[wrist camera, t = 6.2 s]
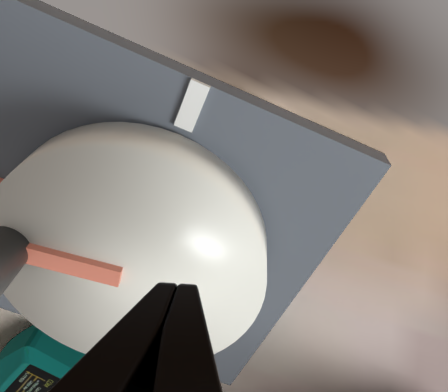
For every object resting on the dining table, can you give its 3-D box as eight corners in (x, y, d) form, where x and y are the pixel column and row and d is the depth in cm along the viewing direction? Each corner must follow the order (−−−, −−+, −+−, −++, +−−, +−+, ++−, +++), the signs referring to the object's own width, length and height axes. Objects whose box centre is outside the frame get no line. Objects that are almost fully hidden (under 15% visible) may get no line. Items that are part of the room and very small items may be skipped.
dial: (8, 84, 14) (-173, 183, 8) (306, 169, 15) (332, 315, 9) (11, 299, 20) (-96, 447, 14) (227, 353, 21) (212, 516, 15)
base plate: (384, 153, 16) (392, 168, 15) (231, 369, 24) (230, 388, 23) (-15, -24, 14) (-38, -22, 13) (-41, 275, 22) (-57, 292, 21)
